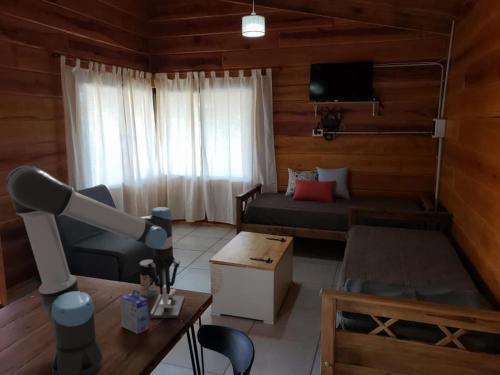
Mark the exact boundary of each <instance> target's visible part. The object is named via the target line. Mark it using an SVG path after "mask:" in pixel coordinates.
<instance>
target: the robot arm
mask: <svg viewBox="0 0 500 375" xmlns="http://www.w3.org/2000/svg"><path fill="white" fill-rule="evenodd" d="M5 189H6V191H7V193H8V195H9V196H10V199H11V203H12V205H13V206H12V207H13V209H14V211H15V214H16V215H18V216H20V217H22V219H23V223H24V225H25V230H26V233H27V236H28V240H29V243H30V247H31V250H32V253H33V256H34V260H35V263H36V267H37V270H38V273H39V277H40V280H41V285H39V288H38V292H39V295H40V298H41V299H40V301H41V302H40V303H41V304H40V305H41V307H42V310H43V311H44V313H45V315H46V316H47V318H48V320H49V321H50V323H51V325H52V327H53V331H54V340H55V341H54V342H55V343H54V344H55V352H54V355H53V356H54V357H53V359H52V362H51V363H52V364H51V374H52V375H94V374H96V373H97V372H98V371H99V370H100V369H101V368H102V367H103V364H104V355H103V351H102V349H101V347H100V345H99V344H98V341H97V338H96V324H95V305H94V302H93V299H92V297H91V296H90V294H88V293H87V292H83V291H82V292H81V291H80V286H79V284H78V280H77V277H76V276H75V275H72V274H71V272H70V269H69V266H68V262H67V258H66V254H65V251H64V247H63V244H62V241H61V237H60V232H59V229H58V226H57V222H56V219H55V216H56V217H60V216H63V215H64V216H66V217H69V218H72V219H74V220H77V221H80V222H83V223H85V224H88V225H91V226H93V227H97V228H99V229H102V230H105V231H107V232H110V233H113V234H115V235H118V236H122V238H123V240H132V241H136V242H137V243H141V244H143V245H145V246H147V247H148V248H150V249H151V248H152V249H153V259H152V260H153V261H151V262H149V263H148V265H147V266H148V267H149V269H150V271H151V274H152V277H153V280H154V283H155V286H156V287H159V292H160V293H159V294H163V303H167V301H168V294H170V289H171V287H173V286H174V285H175V282H176V276H177V273H178V268H179V266H180V264H181V262H180V261H177V260H175V257H174V249H173V248H174V247H173V228H172V227H173V226H172V224H173V223H172V222H173V221H172V220H173V218H172V211H171V208H168V207H166V206H165V207H164V206H159V207H154V208H152V209H151V211H150V214H148V215H143V216H142V215H141V216H134V215H132V214H130V213H128V212H126V211H123V210H121V209H118V208H115V207H113V206H110V205H109V204H106V203H103V202H101V201H98V200H96V199H93V198H91V197H89V196H87V195H83V194H81V193H79V192H77V191H75V190H74V187H73V186H71V185H68V184H66V183H64V182H62V181H60V180H59V179H57V178H56V177H54V176H53V175H51V174H50V173H48V172H47V171H45V170H43V169H41V168H40V167H38V166H35V165H22V166H19V167H17V168H16V167H15V169H12V170H11V172H10V173H9V174H8V175H7V177H6V181H5ZM154 264H155V267H154ZM172 265H173V271H172V275H170V274H171V273H170V271H171V269H170V268H171V267H172ZM156 267H157V269H156ZM157 270H158V274H157ZM164 272H165V282H164Z"/></svg>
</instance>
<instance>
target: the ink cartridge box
mask: <svg viewBox="0 0 500 375" xmlns="http://www.w3.org/2000/svg"><path fill="white" fill-rule="evenodd" d="M135 293H136V294H135ZM148 305H149V304H148V298H146V297H144V296H142V295H141V296H140V291H138V290H136V289H133V291H132V292H130V293H128V294H125V295H123V296H121V297H120V307H121V308H120V309H121V310H120V311H121V327H122V328H123V329H124V328H125V329H127V330H129V331H131V332H132V333H135V334H137V335H139V334H141V333H143V332H145V331H147V330H148V329H149V308H148Z"/></svg>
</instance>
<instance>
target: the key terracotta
mask: <svg viewBox="0 0 500 375" xmlns="http://www.w3.org/2000/svg"><path fill="white" fill-rule="evenodd" d="M170 290H173V296H176V293H177V292H176V291H177V290H176V288H170Z"/></svg>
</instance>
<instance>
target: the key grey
mask: <svg viewBox="0 0 500 375" xmlns="http://www.w3.org/2000/svg"><path fill="white" fill-rule="evenodd" d="M172 296H173V290H170V294H168V298H172ZM162 298H163V294H162Z"/></svg>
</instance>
